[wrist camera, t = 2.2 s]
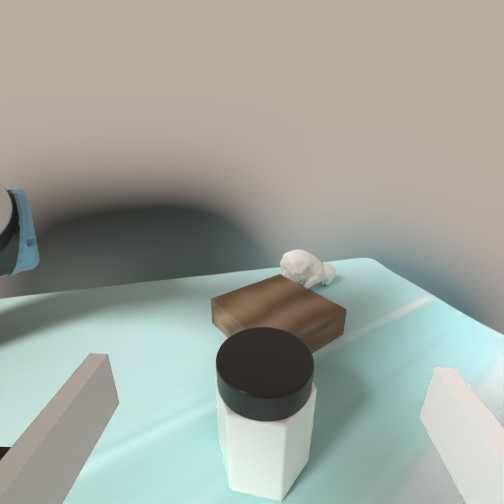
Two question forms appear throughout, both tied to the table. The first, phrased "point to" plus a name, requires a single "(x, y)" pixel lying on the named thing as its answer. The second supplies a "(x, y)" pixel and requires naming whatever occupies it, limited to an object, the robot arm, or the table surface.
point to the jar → (264, 410)
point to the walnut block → (280, 311)
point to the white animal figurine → (306, 268)
